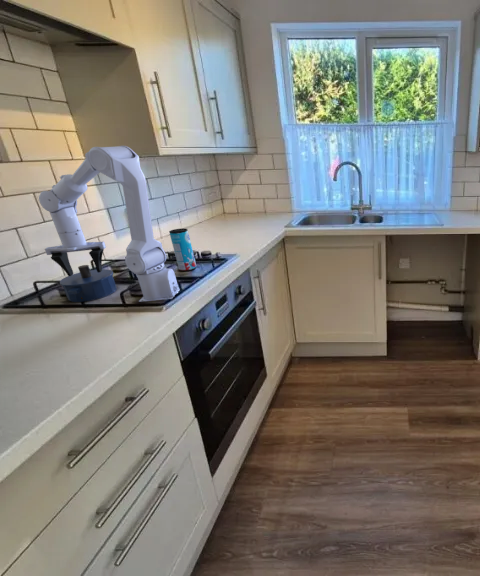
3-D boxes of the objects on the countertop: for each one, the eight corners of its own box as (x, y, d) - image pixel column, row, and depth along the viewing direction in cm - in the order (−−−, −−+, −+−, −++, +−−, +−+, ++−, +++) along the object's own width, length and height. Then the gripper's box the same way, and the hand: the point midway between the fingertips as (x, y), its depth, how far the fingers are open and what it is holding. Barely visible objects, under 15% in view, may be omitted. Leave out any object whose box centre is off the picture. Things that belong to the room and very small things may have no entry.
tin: (127, 281, 126) (122, 267, 124) (100, 303, 110) (94, 287, 108) (86, 285, 124) (81, 270, 122) (53, 307, 108) (46, 291, 105)
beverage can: (195, 270, 134) (185, 231, 128) (177, 272, 133) (167, 233, 127) (198, 265, 140) (188, 227, 134) (181, 267, 138) (171, 229, 132)
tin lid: (124, 273, 120) (119, 259, 118) (87, 289, 108) (82, 274, 106) (88, 271, 122) (84, 258, 120) (48, 287, 110) (43, 273, 108)
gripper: (33, 237, 103) (52, 281, 108) (94, 231, 108) (108, 273, 113) (44, 231, 109) (61, 273, 114) (101, 226, 114) (115, 266, 119)
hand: (85, 273), depth 114 cm, fingers open, 7 cm apart
